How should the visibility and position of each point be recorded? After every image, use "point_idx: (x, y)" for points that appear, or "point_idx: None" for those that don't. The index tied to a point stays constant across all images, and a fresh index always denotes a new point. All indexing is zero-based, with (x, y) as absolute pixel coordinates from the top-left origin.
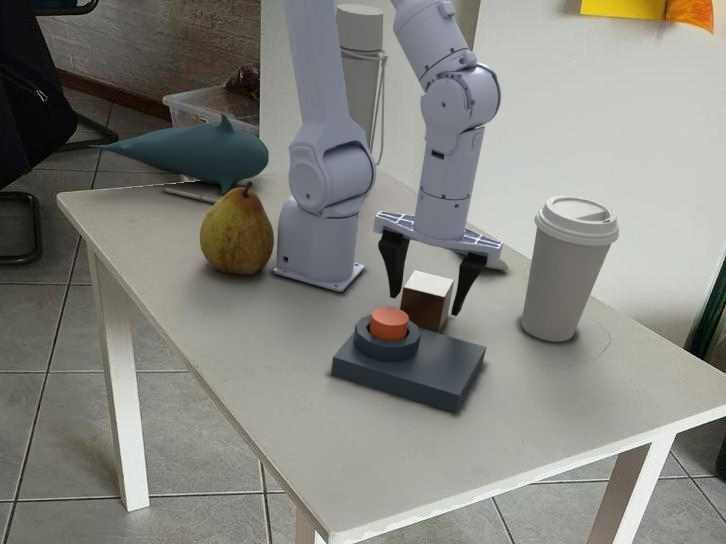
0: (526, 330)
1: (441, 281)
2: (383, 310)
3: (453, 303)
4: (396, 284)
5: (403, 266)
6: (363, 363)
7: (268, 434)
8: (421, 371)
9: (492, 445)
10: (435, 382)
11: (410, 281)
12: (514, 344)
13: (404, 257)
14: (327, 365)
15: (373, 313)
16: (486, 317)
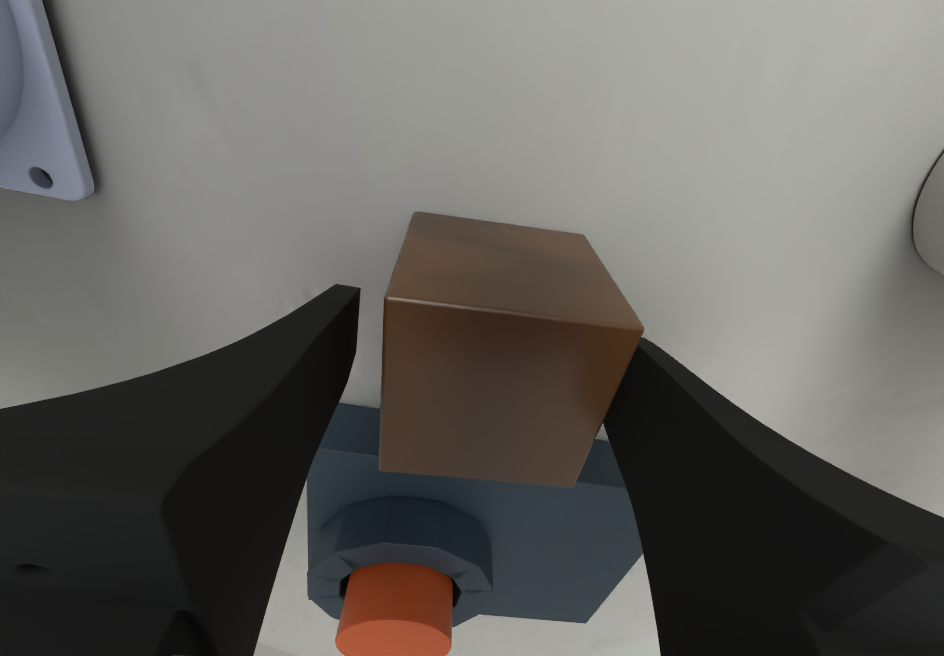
0: (917, 240)
1: (562, 374)
2: (364, 635)
3: (610, 442)
4: (335, 396)
5: (313, 356)
6: None
7: (303, 648)
8: (506, 594)
9: (631, 612)
10: (537, 609)
11: (398, 424)
12: (811, 334)
13: (289, 405)
14: (300, 533)
15: (342, 649)
16: (771, 167)
